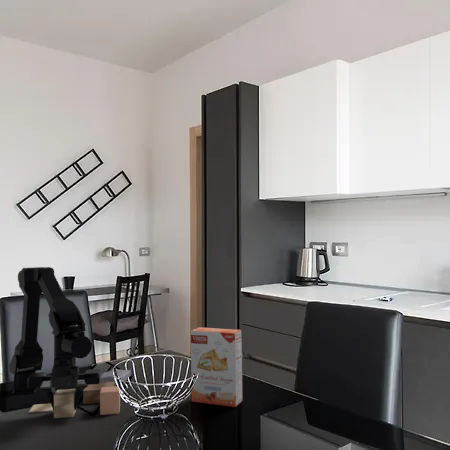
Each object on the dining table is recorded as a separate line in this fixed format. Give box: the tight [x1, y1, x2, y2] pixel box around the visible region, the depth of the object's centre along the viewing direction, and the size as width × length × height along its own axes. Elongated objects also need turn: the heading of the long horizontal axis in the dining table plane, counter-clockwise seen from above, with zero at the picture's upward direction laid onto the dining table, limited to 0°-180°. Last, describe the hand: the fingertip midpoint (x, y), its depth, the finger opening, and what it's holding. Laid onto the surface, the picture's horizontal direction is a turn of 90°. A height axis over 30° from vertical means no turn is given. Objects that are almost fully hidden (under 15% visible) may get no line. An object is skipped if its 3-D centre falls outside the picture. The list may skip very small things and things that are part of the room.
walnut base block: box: [82, 382, 114, 405], centre depth 144 cm, size 8×8×4 cm
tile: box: [27, 403, 54, 415], centre depth 136 cm, size 7×7×1 cm
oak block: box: [53, 388, 77, 419], centre depth 131 cm, size 5×5×6 cm
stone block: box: [100, 369, 132, 386], centre depth 160 cm, size 12×5×10 cm
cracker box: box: [190, 326, 243, 408], centre depth 139 cm, size 14×6×21 cm, turn 68°
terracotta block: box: [99, 386, 121, 416], centre depth 133 cm, size 5×5×6 cm
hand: (65, 410), depth 131 cm, fingers closed on oak block, 5 cm apart
